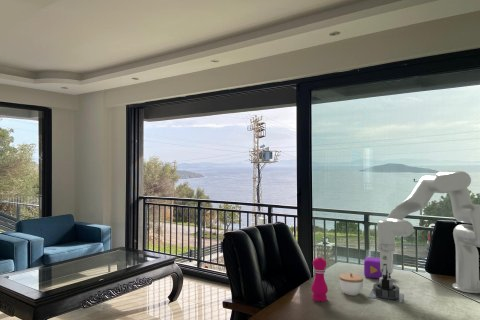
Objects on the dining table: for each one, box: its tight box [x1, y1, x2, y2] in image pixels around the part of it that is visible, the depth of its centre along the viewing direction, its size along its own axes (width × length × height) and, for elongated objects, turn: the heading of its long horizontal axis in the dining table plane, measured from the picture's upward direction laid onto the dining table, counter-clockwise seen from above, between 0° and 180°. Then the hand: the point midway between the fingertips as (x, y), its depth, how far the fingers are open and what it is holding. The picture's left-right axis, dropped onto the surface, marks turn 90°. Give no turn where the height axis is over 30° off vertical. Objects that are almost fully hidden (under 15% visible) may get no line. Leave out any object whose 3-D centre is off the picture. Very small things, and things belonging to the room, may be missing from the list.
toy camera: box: [363, 255, 382, 280], centre depth 194 cm, size 11×14×10 cm
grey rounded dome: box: [378, 277, 394, 290], centre depth 164 cm, size 6×6×4 cm
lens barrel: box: [368, 282, 405, 304], centre depth 164 cm, size 14×12×4 cm
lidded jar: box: [339, 272, 364, 296], centre depth 167 cm, size 11×11×9 cm
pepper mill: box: [310, 254, 329, 302], centre depth 159 cm, size 7×7×20 cm
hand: (386, 285), depth 164 cm, fingers closed on grey rounded dome, 5 cm apart
